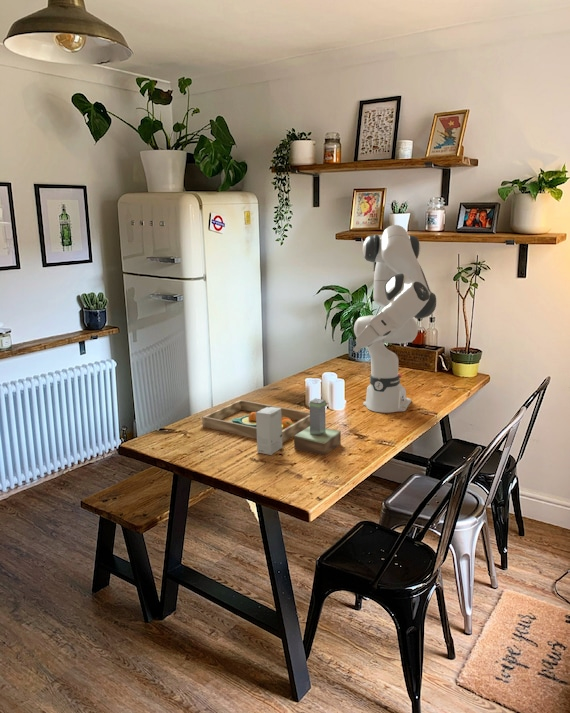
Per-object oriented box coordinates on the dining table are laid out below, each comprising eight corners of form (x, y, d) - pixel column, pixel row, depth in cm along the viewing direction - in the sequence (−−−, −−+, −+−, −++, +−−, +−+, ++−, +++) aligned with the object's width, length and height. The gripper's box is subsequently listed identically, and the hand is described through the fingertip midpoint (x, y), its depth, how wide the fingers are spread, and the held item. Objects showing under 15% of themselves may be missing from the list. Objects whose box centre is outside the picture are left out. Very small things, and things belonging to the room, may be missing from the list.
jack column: (315, 430, 218) (315, 398, 215) (325, 432, 216) (325, 400, 213) (309, 434, 215) (309, 401, 212) (320, 436, 212) (319, 403, 209)
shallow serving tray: (240, 408, 259) (240, 399, 258) (314, 423, 240) (314, 413, 239) (202, 426, 238) (202, 417, 237) (279, 443, 219) (279, 433, 219)
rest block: (311, 438, 224) (311, 425, 223) (340, 444, 218) (340, 431, 217) (294, 449, 215) (294, 435, 213) (324, 455, 208) (324, 442, 207)
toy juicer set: (302, 427, 237) (302, 408, 235) (278, 443, 222) (277, 423, 220) (242, 416, 251) (241, 398, 249) (215, 430, 236) (214, 410, 234)
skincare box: (271, 455, 209) (269, 414, 206) (256, 452, 212) (254, 412, 209) (283, 447, 216) (282, 407, 213) (268, 444, 219) (267, 405, 216)
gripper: (394, 310, 210) (368, 335, 218) (369, 319, 194) (341, 346, 201) (406, 324, 209) (379, 348, 217) (382, 334, 192) (354, 361, 200)
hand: (361, 347), depth 209 cm, fingers open, 8 cm apart
